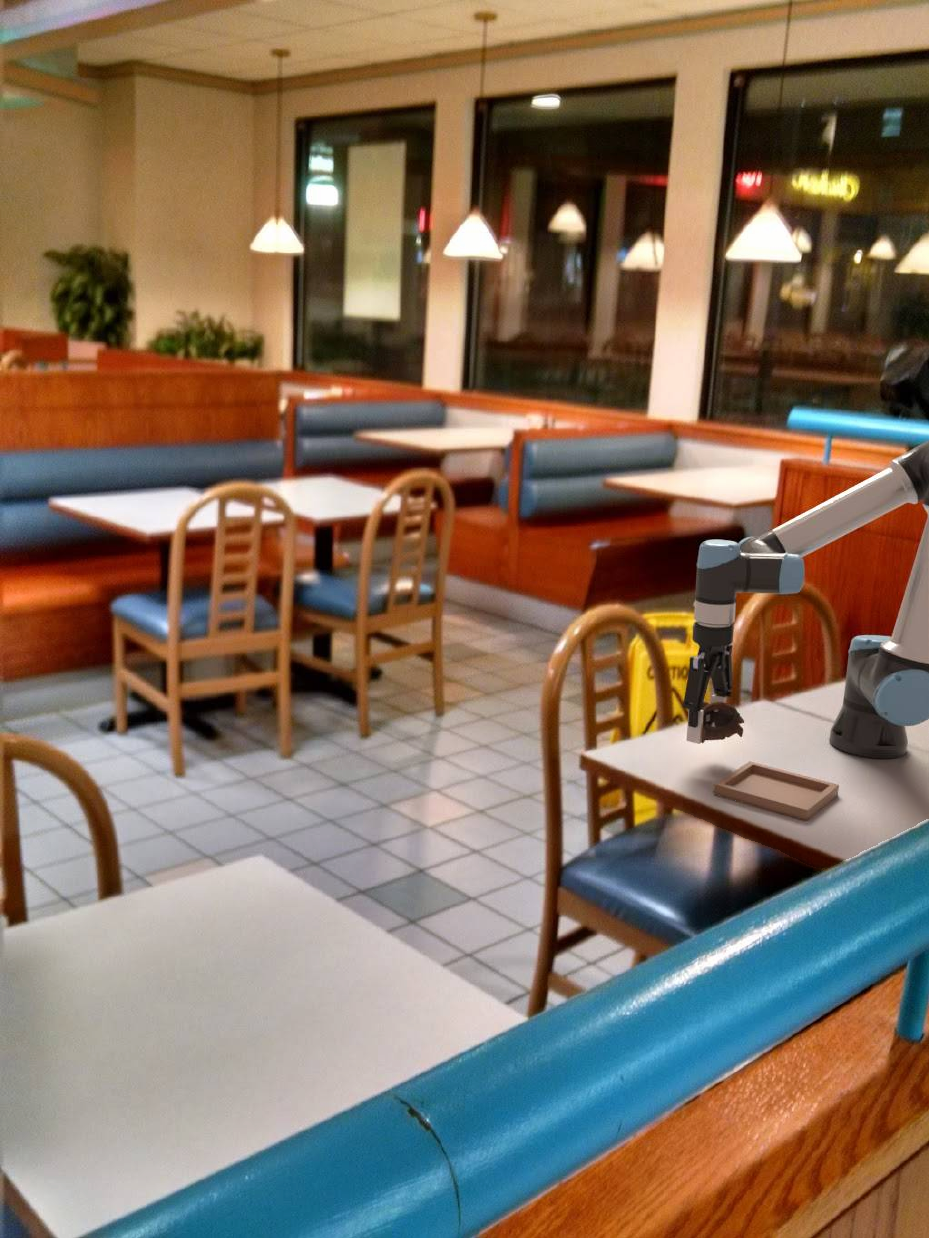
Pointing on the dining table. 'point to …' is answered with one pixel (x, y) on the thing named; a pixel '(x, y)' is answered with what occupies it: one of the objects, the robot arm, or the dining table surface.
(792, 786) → the serving tray
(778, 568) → the robot arm
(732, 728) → the pottery mug
